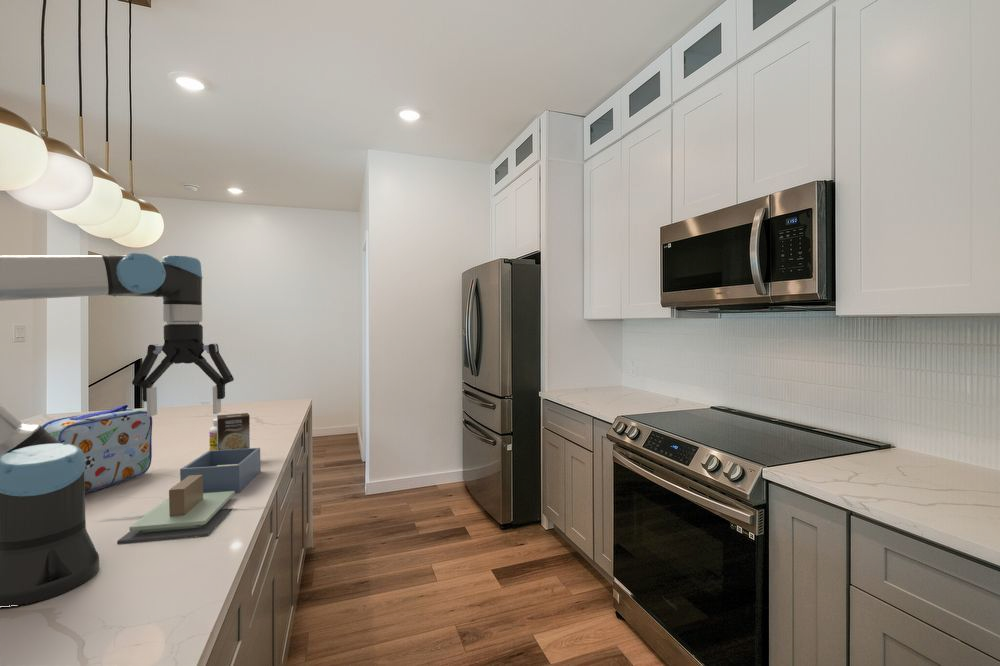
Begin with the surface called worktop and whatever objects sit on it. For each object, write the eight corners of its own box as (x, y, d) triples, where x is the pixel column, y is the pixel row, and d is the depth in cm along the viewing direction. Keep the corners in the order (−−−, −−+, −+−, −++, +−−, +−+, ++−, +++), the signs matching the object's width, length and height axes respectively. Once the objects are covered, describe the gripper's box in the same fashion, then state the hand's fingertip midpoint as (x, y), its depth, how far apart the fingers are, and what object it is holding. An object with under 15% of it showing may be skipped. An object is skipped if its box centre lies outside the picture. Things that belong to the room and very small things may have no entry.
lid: (205, 529, 101) (204, 493, 101) (129, 536, 98) (128, 499, 98) (234, 498, 119) (234, 467, 119) (171, 503, 116) (171, 471, 116)
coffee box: (217, 469, 144) (216, 418, 144) (216, 464, 150) (215, 415, 149) (250, 464, 149) (249, 415, 149) (248, 459, 155) (248, 412, 154)
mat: (207, 535, 99) (207, 533, 99) (117, 543, 96) (117, 540, 96) (243, 497, 121) (243, 495, 121) (170, 503, 117) (170, 500, 117)
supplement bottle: (205, 457, 158) (204, 420, 157) (221, 452, 164) (221, 416, 164) (220, 459, 156) (219, 421, 155) (236, 453, 162) (236, 417, 162)
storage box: (239, 495, 122) (239, 465, 122) (180, 499, 120) (180, 469, 120) (260, 473, 140) (260, 447, 140) (209, 477, 137) (209, 450, 137)
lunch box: (133, 469, 145) (132, 399, 145) (160, 471, 143) (159, 400, 143) (28, 502, 118) (26, 417, 118) (60, 505, 116) (58, 418, 116)
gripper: (247, 323, 113) (248, 409, 114) (131, 323, 109) (133, 413, 109) (236, 323, 106) (237, 415, 107) (111, 323, 101) (113, 419, 102)
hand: (185, 414), depth 108 cm, fingers open, 13 cm apart
